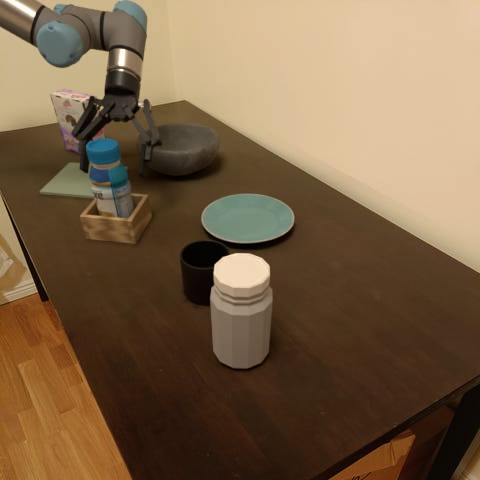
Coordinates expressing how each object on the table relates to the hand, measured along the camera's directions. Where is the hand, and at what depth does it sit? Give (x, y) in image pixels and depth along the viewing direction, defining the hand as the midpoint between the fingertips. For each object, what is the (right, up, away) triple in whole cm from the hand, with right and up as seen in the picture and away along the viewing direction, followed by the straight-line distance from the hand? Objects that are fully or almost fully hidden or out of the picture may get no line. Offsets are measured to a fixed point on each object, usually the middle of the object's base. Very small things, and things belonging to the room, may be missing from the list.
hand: (112, 173), depth 95 cm
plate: (+30, -10, +9) cm, 33 cm away
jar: (+28, -38, -20) cm, 52 cm away
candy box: (-20, +20, +39) cm, 48 cm away
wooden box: (0, -10, +8) cm, 13 cm away
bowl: (+11, +12, +30) cm, 34 cm away
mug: (+21, -26, -8) cm, 34 cm away
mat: (-15, +6, +25) cm, 29 cm away
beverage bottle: (0, -11, +8) cm, 13 cm away
